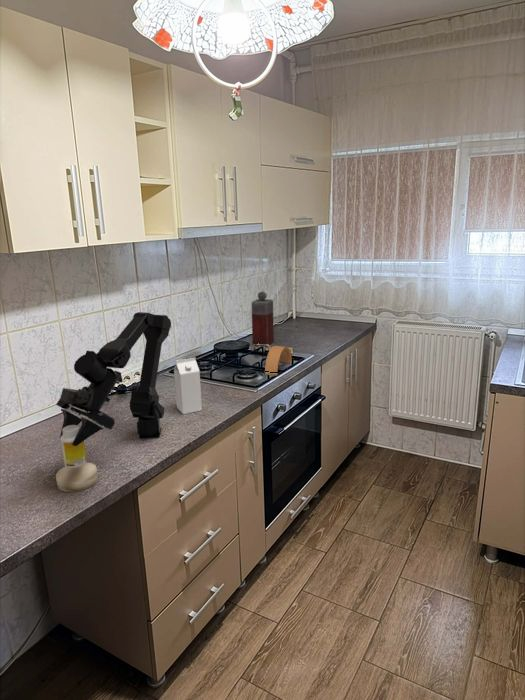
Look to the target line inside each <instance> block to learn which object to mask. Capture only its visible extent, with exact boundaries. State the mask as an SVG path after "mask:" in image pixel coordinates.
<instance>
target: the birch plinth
mask: <svg viewBox="0 0 525 700" xmlns="http://www.w3.org/2000/svg"><path fill="white" fill-rule="evenodd" d="M55 478H56V479H55V480H56V484H57V489H58V490H59V491H61V492H65V493H76V492H81V491H84V490H87V489H89V488H91V487H93V486H94V485H95V484H96V483H97V482H98V478H99V477H98V470H97V466H96V464H94V463H92V462H87V461H86V463H85V464H83V465H82V466H80V467H76V468H68V467H66V466H65V465H64V466H63V467H61V468H60V469H59V470H58V471H57V472H56V474H55Z"/></svg>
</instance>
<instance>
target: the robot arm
mask: <svg viewBox="0 0 525 700" xmlns="http://www.w3.org/2000/svg"><path fill="white" fill-rule="evenodd" d="M171 328H172V320H171V319H170V318H169V317H168V315H166V314H153V313H150V312H146V311H145V312H140V311H137V312H135V313H134V314H133V317H132V319H131V320H130V321H129V323H127V325H126V326H125V327H124V329H123V330H122V331H121V333H120V334H118V336H117V337H116V338H115V339H113V340H112V341H108V342H106V343H105V344H104V345H103V346H102V347H101V348H100V349H99V351H98V352H97V353H96V352H95V351H94V350H86V352H85V354H83V355H81V356H80V357H78V358H77V360H76V361H74V364H73V369H74V372H75V373H76V374H78V375H79V376H80V377H81V378H83V379H85V380H86V381H87V382H89V385H88V386H83V387H82V388H78V389H73V388H67V387H63V388H62V390H61V395H60V398H59V399H58V401H57V403H55V405H56V406H58V407H59V408H60V411H61V412H62V414H63V423H62V427H61V430H60V431H61V432H60V435H59V439H60V438H61V436H62V435H63V431H62V429H63V428H64V427H66V426H69V425H77V426H79V424H81V425H80V427H79V431H78V433H77V435H76V437H75V439H74V441H73V444H72V445H74V446H77V445H79V444H80V443H81V442H83V441H84V442H85V440H87V439H88V438H90V437H91V436H93V435H94V434H96V433H98V432H99V431H100V430H101V431H103V430H104V429H105V428H106V429H108V430H110V431H111V430H112V429H113V427H114V426H115V424H116V421H115V418H113V417H112V416H110V415H108V414H107V413H105V412H103V411H101V409H102V407H103V405H104V404H105V403H110V400H111V398H109V396H110V394H111V392H112V391H113V389H114V387H115V385H116V384H117V382H119V383H123V382H124V381H123V377H122V372H120V371H117V370H113V369H124V368H125V367H126V366H127V364H128V363H129V361H130V359H131V357H132V355H131V351H132V348H133V347H134V346H135V344H137V342H138V340H139V339H140V338H141V337H142V335H143V336H144V338H145V340H146V341H145V347H144V352H143V353H144V354H143V360H142V367H141V373H140V378H139V379H140V380H139V384H138V386H137V388H136V389H134V390H132V391H131V393H130V394H131V395H130V400H129V409H130V412H131V415H132V417H133V418H134V419H135V418H137V422H136V427H137V428H136V429H137V435H138V439H156V438H160V437H161V433H162V431H163V429H162V427H161V419H163V418H164V417H163V416H164V415H165V407H164V406H163V405H162V404H161V403H160V402H159V401H160V396H159V394H158V391H157V389H156V384H157V379H158V371H159V367H160V366H159V365H160V359H161V353H162V345H163V343H164V341H165V340H166V339H167V338H168V336H169V334H170V330H171ZM81 415H82V416H81ZM79 416H81V417H79ZM83 416H84V417H83ZM85 417H86V418H85Z"/></svg>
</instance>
